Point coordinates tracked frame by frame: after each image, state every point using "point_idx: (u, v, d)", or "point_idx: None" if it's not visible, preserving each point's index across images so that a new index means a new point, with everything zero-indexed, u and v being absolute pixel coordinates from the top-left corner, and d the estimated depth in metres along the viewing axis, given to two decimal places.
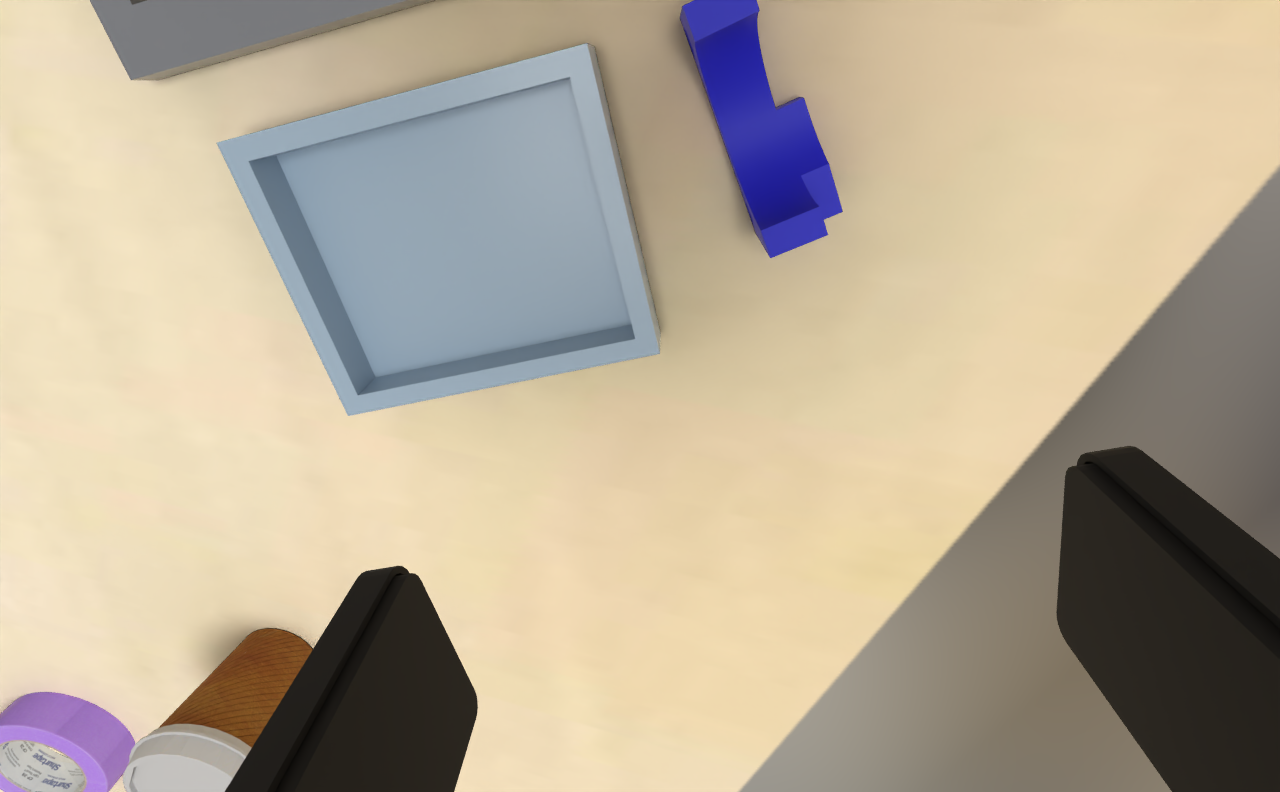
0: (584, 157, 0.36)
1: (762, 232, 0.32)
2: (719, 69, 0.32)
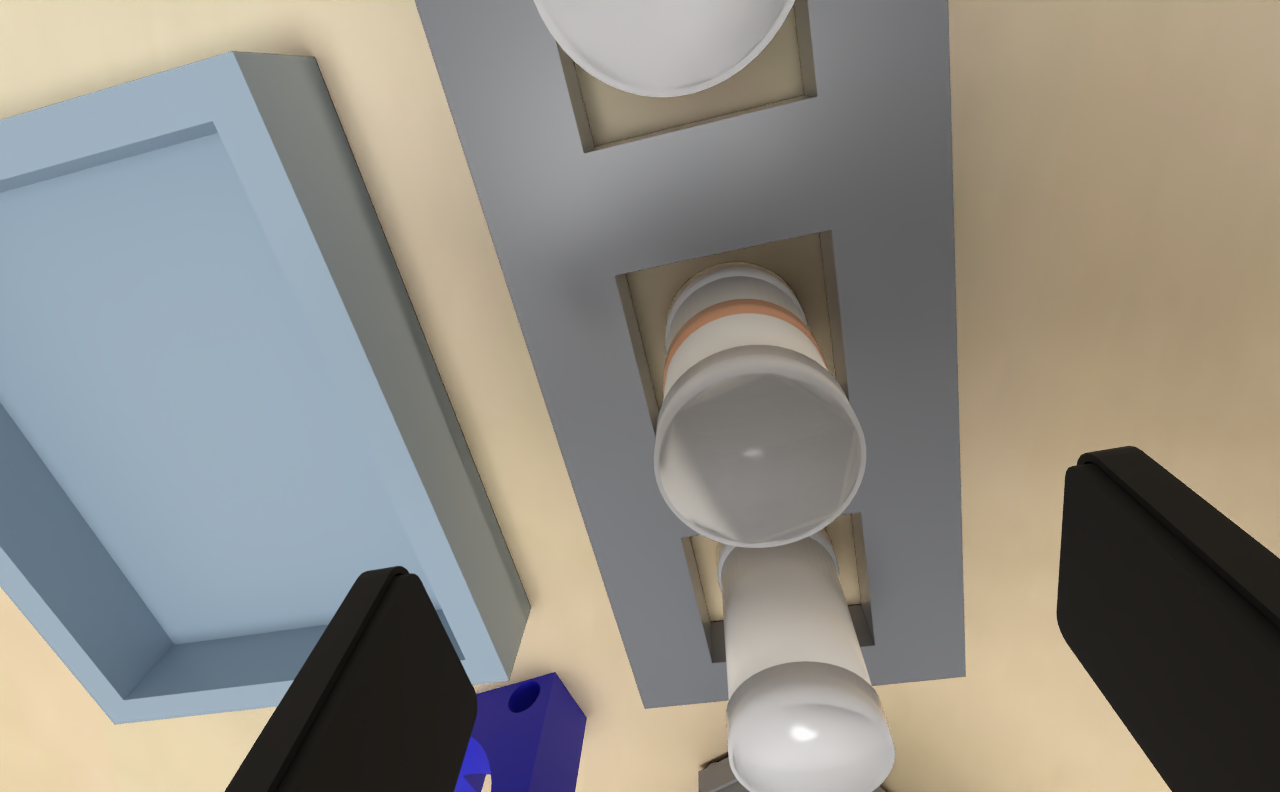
0: None
1: None
2: None
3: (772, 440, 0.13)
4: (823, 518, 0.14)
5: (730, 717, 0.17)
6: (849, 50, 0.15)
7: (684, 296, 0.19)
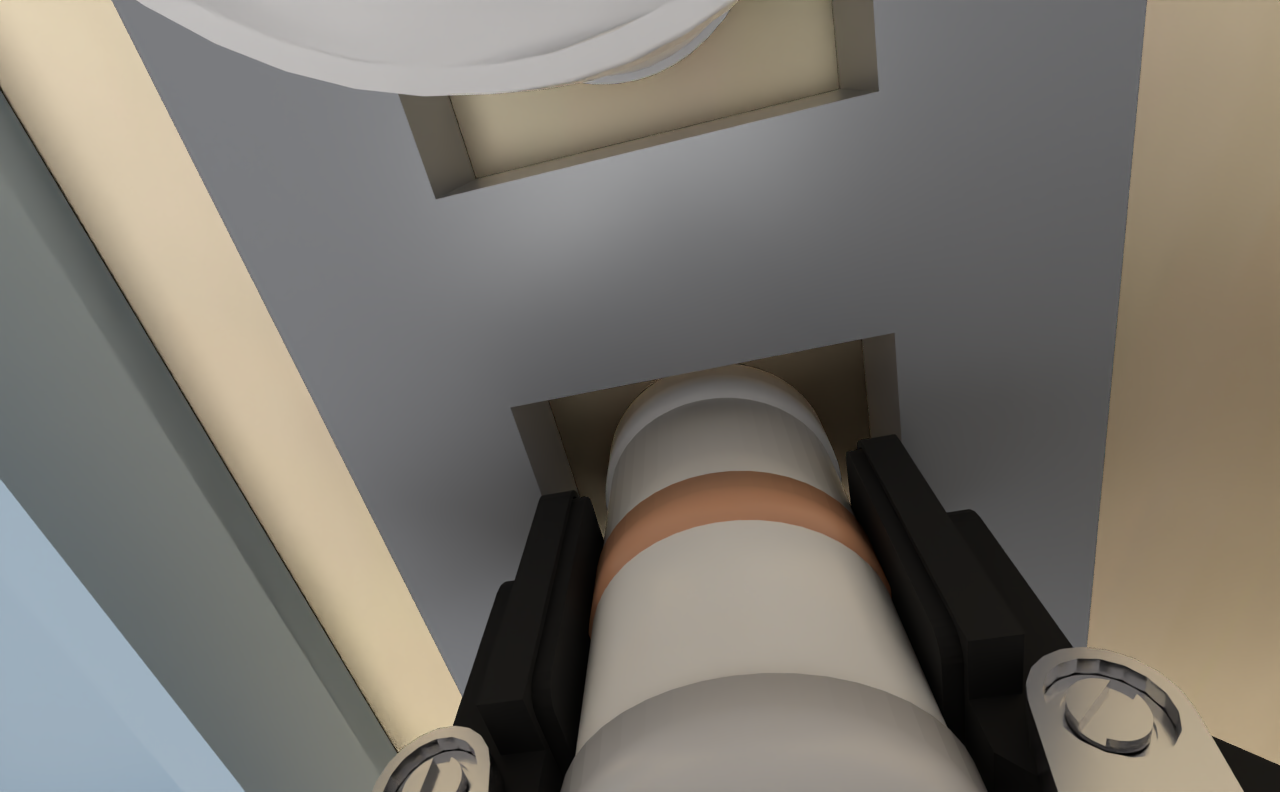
0: None
1: None
2: None
3: None
4: None
5: None
6: None
7: (635, 429, 0.11)
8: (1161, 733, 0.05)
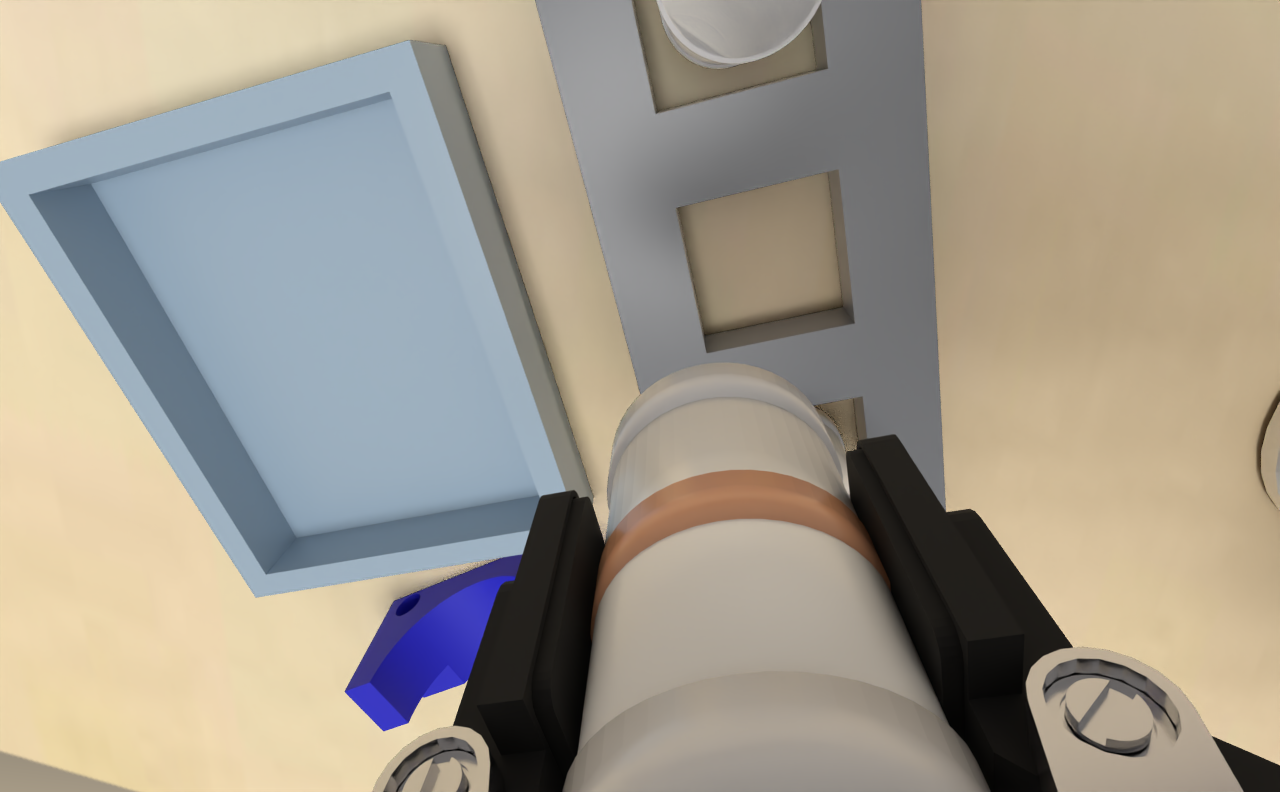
0: (477, 493, 0.31)
1: (368, 683, 0.30)
2: None
3: None
4: None
5: None
6: (851, 34, 0.21)
7: (636, 428, 0.11)
8: (1161, 734, 0.05)
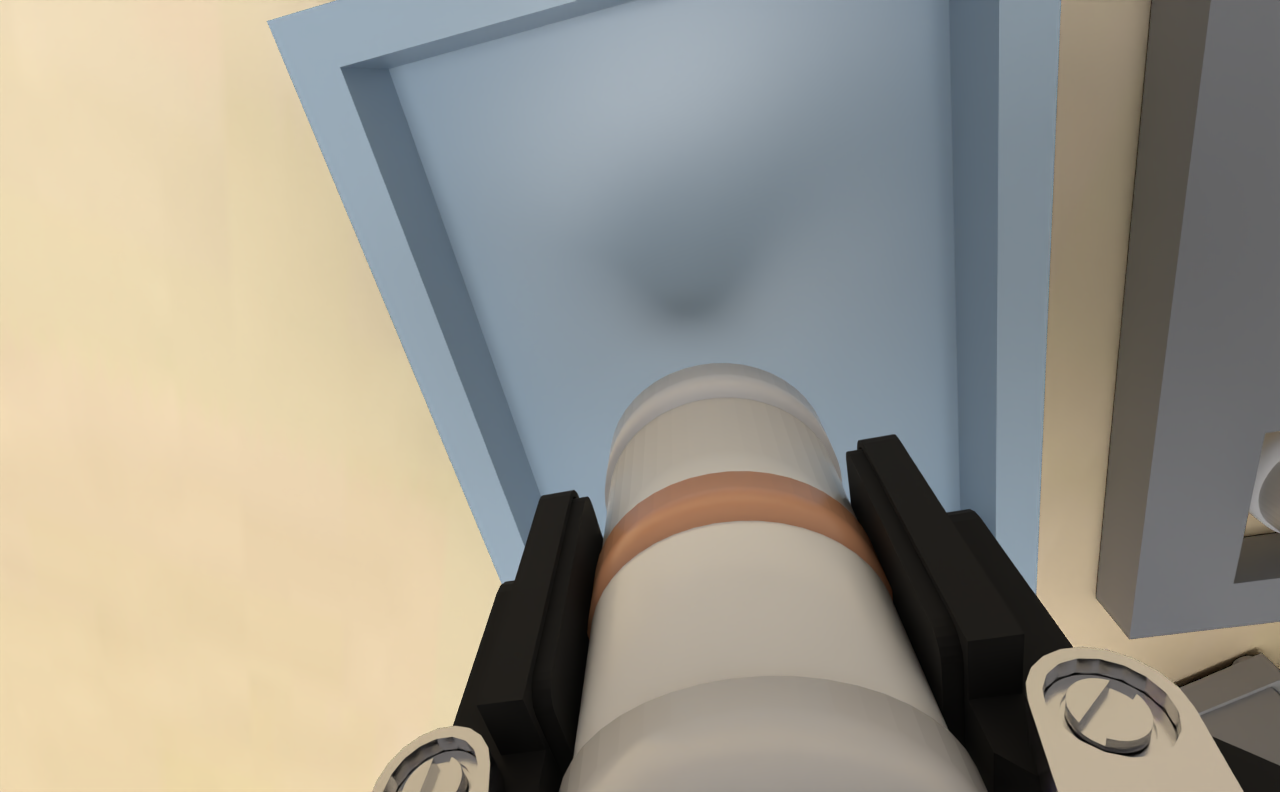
0: None
1: None
2: None
3: None
4: None
5: None
6: None
7: (634, 429, 0.11)
8: (1161, 733, 0.05)
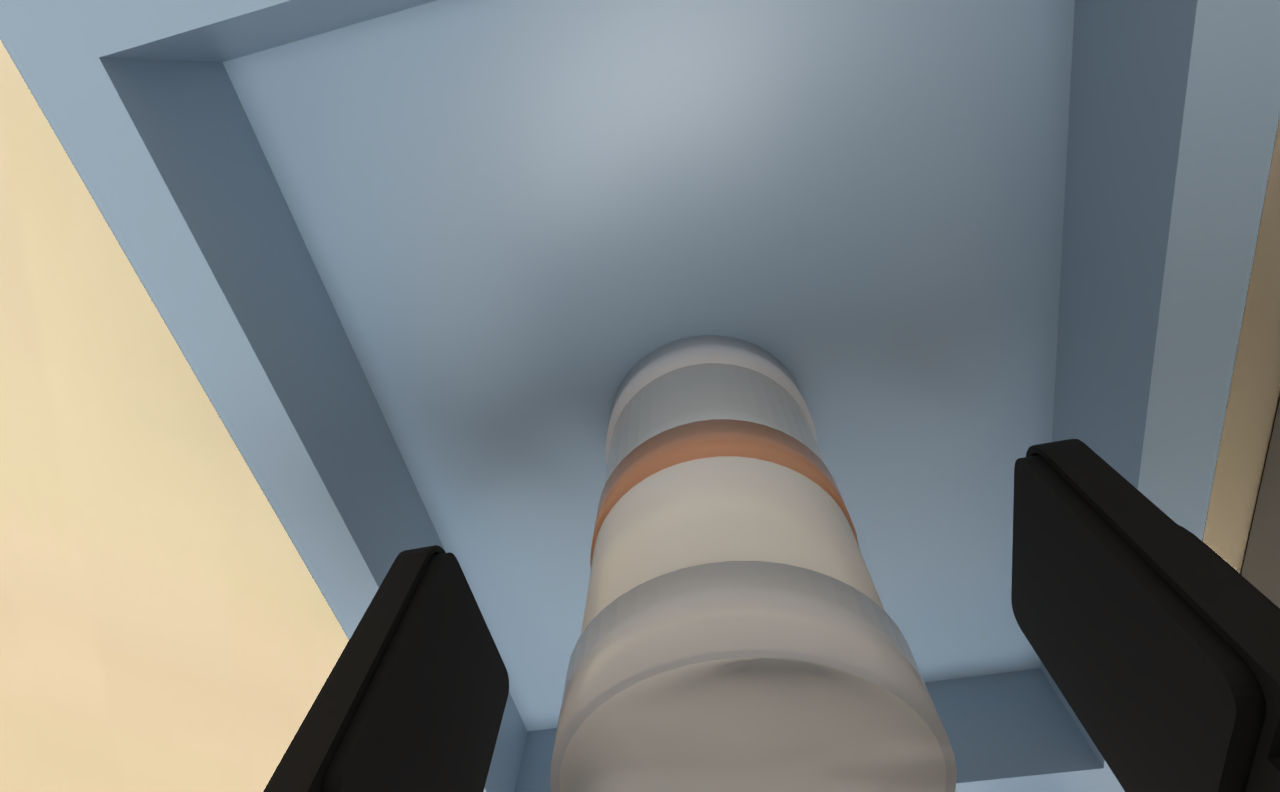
0: None
1: None
2: None
3: (775, 760, 0.07)
4: None
5: None
6: None
7: (631, 392, 0.12)
8: None
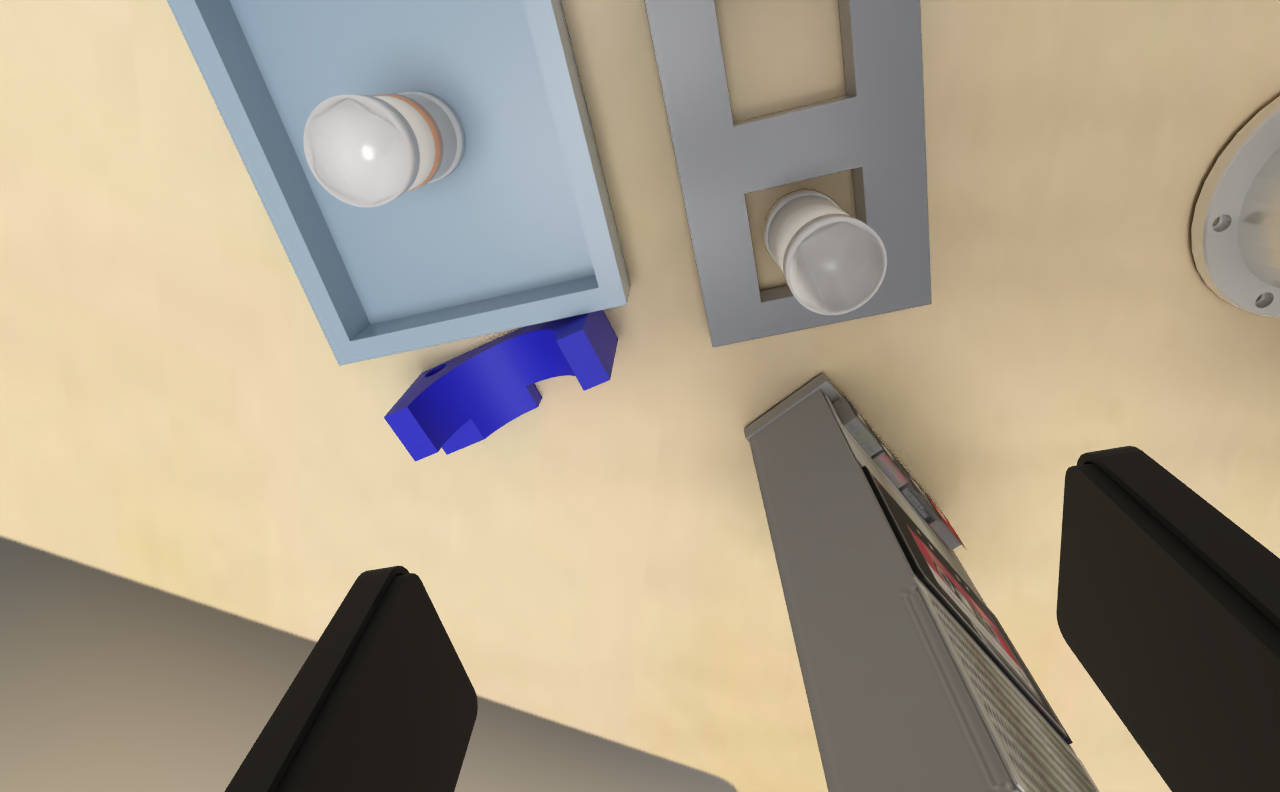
0: (531, 276, 0.36)
1: (405, 408, 0.34)
2: (549, 343, 0.36)
3: (359, 137, 0.25)
4: (399, 188, 0.26)
5: (787, 253, 0.28)
6: None
7: None
8: None
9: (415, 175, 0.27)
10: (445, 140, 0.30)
